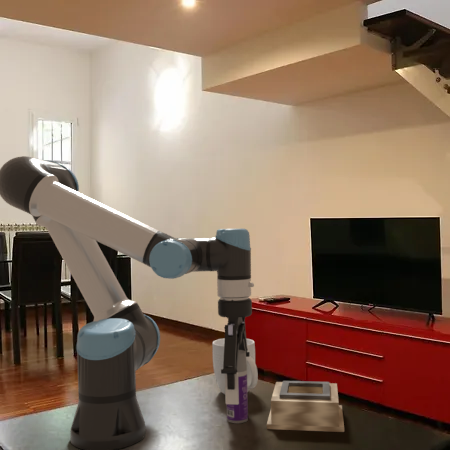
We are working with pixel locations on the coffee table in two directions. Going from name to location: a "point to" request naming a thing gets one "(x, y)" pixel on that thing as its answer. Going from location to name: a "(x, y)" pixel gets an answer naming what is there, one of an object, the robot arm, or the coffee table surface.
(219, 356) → the mug
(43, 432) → the coffee table surface
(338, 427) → the socket
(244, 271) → the robot arm
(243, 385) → the container
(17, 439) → the coffee table surface
